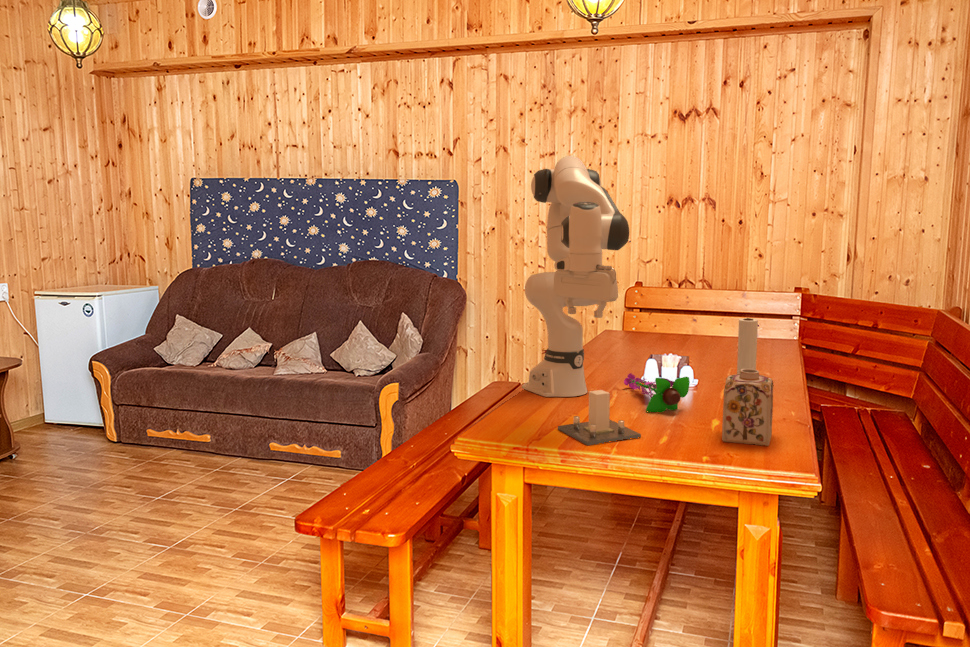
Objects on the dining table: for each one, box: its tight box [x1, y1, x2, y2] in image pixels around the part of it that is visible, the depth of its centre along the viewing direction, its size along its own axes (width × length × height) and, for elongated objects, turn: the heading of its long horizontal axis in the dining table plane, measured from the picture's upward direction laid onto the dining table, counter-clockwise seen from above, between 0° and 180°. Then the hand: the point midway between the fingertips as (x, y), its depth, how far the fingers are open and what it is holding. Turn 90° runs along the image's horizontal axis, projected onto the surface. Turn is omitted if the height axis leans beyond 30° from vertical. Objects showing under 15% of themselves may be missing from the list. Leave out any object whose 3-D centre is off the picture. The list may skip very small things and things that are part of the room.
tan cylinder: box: [736, 317, 759, 374], centre depth 272 cm, size 7×6×21 cm
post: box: [588, 389, 611, 432], centre depth 215 cm, size 4×4×10 cm
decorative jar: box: [721, 369, 774, 447], centre depth 209 cm, size 12×12×18 cm
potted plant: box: [623, 372, 690, 413], centre depth 250 cm, size 12×16×35 cm
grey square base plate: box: [557, 415, 642, 446], centre depth 216 cm, size 16×16×4 cm
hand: (584, 315), depth 217 cm, fingers open, 8 cm apart
